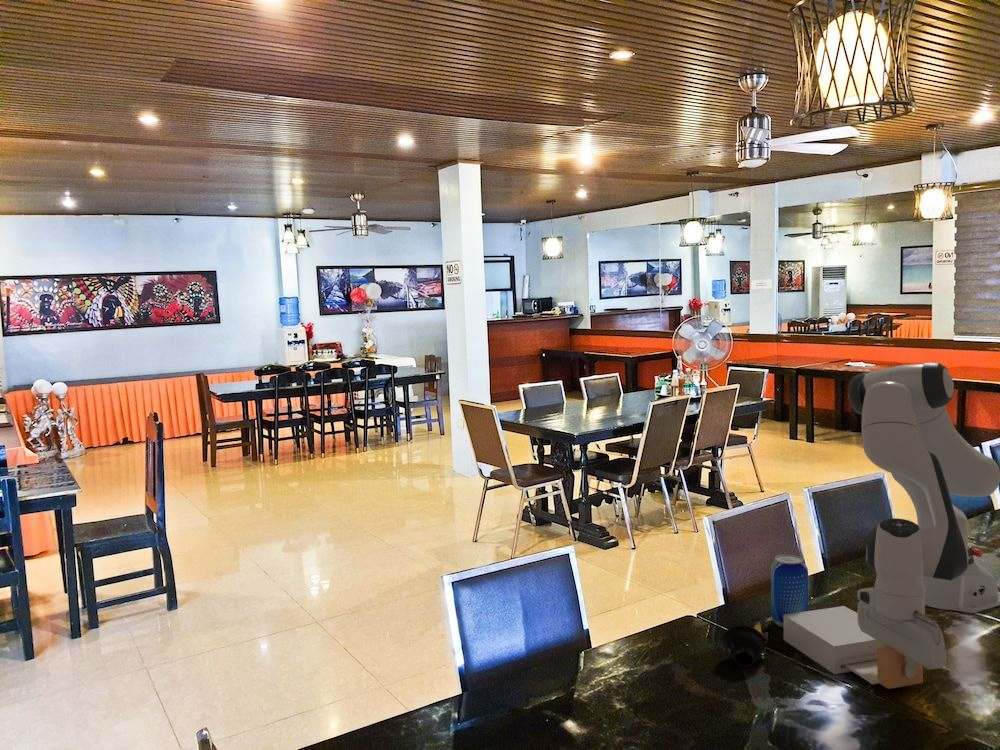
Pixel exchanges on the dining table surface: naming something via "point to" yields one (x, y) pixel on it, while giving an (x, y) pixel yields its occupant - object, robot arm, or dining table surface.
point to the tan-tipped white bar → (886, 669)
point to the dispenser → (830, 637)
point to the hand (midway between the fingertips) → (899, 671)
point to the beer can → (788, 587)
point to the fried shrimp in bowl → (745, 643)
